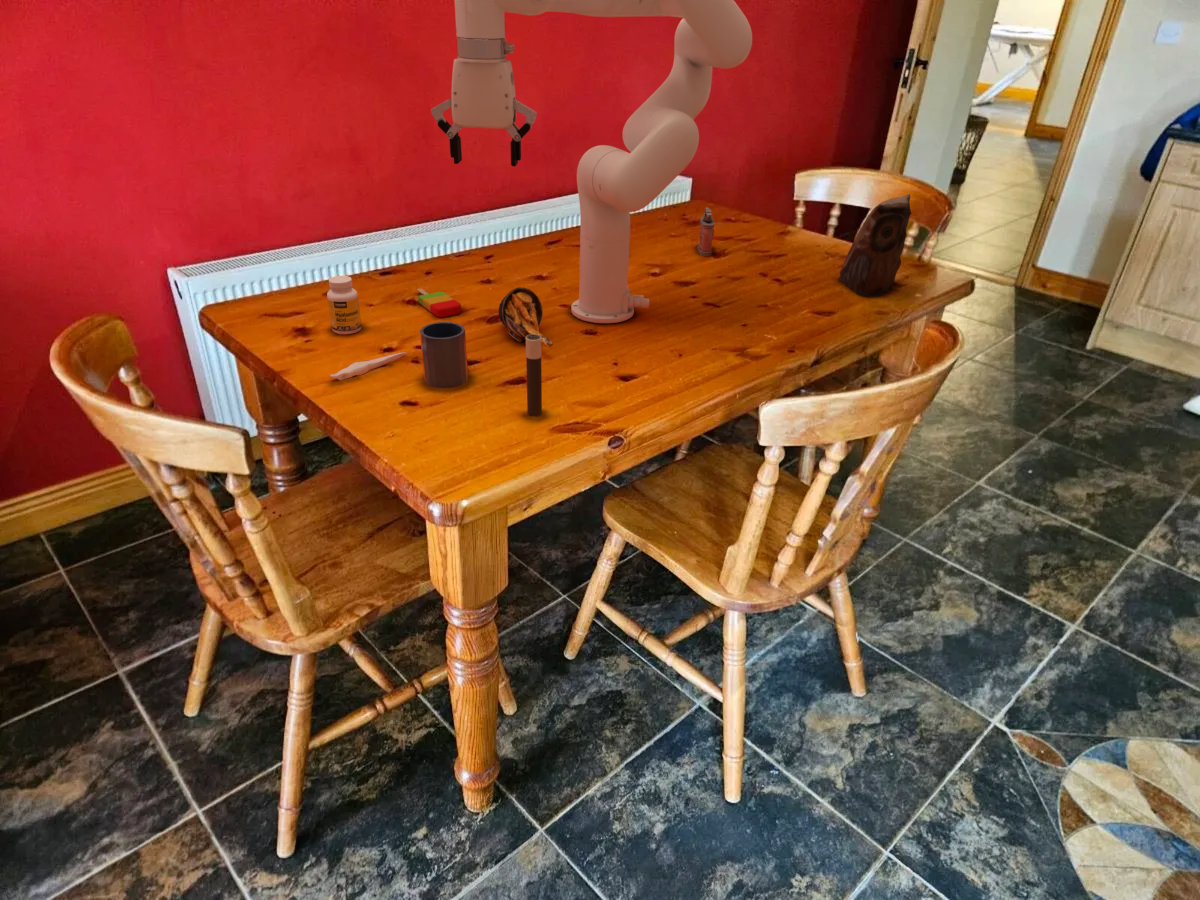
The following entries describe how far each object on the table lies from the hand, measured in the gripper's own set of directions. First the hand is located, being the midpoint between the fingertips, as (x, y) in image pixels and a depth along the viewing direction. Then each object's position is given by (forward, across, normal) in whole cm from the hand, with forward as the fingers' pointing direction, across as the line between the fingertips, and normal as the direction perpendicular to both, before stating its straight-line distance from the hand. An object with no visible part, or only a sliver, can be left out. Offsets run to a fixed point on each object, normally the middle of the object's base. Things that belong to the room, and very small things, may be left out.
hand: (486, 163), depth 134 cm
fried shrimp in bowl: (+31, -7, +4) cm, 32 cm away
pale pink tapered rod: (+31, +17, +20) cm, 40 cm away
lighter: (+31, -43, -57) cm, 78 cm away
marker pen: (+30, -12, +32) cm, 46 cm away
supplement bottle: (+31, +27, +3) cm, 41 cm away
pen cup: (+30, +4, +22) cm, 38 cm away
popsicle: (+31, +14, -12) cm, 36 cm away
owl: (+31, -78, -36) cm, 91 cm away
